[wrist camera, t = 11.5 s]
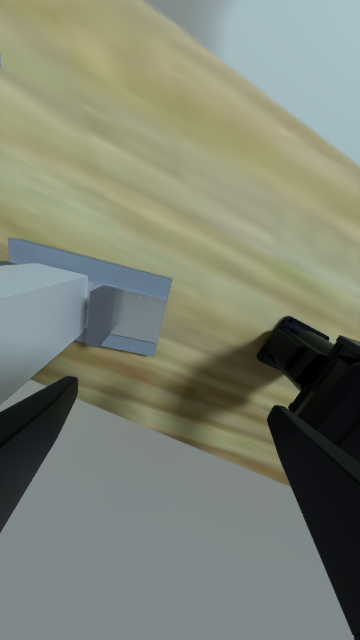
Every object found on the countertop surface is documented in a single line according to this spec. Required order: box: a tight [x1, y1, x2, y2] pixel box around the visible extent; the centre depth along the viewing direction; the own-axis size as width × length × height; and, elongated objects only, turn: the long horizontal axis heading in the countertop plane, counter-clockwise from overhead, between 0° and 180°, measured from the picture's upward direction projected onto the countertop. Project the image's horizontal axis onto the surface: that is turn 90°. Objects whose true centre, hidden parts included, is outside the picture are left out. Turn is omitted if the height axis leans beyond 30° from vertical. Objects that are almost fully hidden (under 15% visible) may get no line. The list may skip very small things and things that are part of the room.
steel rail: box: [8, 261, 167, 343], centre depth 18 cm, size 15×5×1 cm, turn 75°
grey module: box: [0, 263, 88, 405], centre depth 11 cm, size 5×6×12 cm
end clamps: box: [0, 261, 117, 347], centre depth 16 cm, size 10×5×3 cm, turn 75°
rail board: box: [8, 238, 172, 357], centre depth 19 cm, size 15×9×2 cm, turn 75°
